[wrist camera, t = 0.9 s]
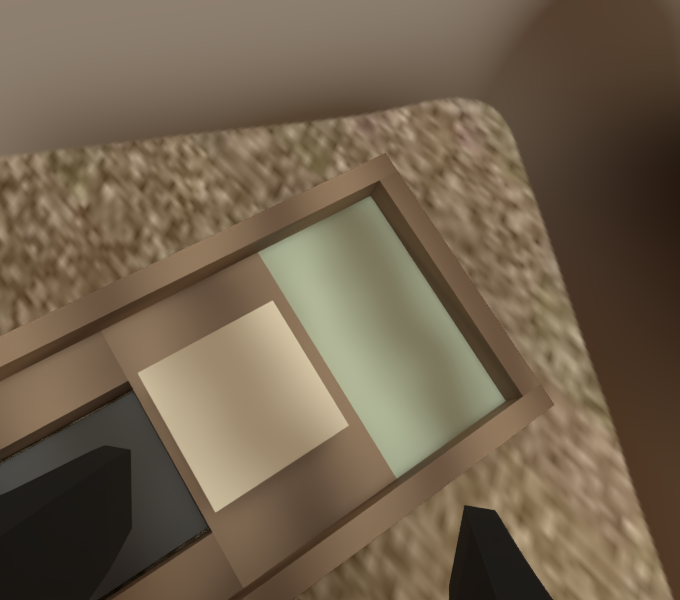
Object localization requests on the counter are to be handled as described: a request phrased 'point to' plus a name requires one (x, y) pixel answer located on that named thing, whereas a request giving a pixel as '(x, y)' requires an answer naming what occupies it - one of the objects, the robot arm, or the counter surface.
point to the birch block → (242, 403)
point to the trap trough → (325, 356)
